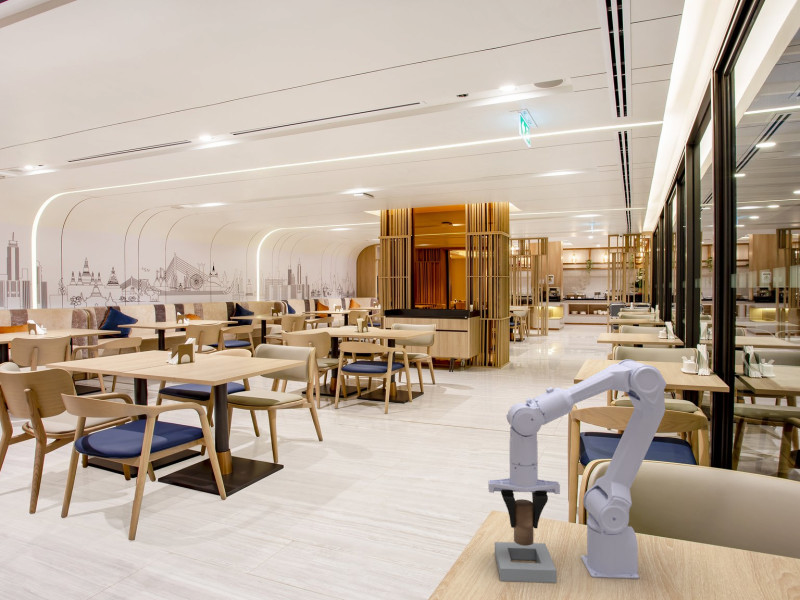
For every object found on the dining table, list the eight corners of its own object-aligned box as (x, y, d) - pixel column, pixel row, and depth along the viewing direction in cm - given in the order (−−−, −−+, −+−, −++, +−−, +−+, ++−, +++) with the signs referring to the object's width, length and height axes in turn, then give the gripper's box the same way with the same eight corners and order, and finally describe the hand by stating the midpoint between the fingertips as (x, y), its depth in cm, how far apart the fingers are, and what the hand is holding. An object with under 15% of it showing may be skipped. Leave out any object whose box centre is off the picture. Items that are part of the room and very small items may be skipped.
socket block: (545, 554, 114) (545, 543, 114) (556, 582, 103) (556, 570, 103) (494, 553, 114) (494, 541, 114) (500, 580, 103) (500, 568, 103)
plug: (532, 536, 110) (531, 499, 110) (534, 546, 106) (534, 507, 106) (512, 536, 111) (512, 499, 111) (514, 545, 107) (514, 506, 107)
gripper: (554, 456, 112) (554, 518, 112) (486, 454, 113) (487, 516, 113) (562, 467, 105) (562, 533, 105) (490, 465, 106) (490, 531, 106)
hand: (523, 525), depth 108 cm, fingers closed on plug, 4 cm apart
